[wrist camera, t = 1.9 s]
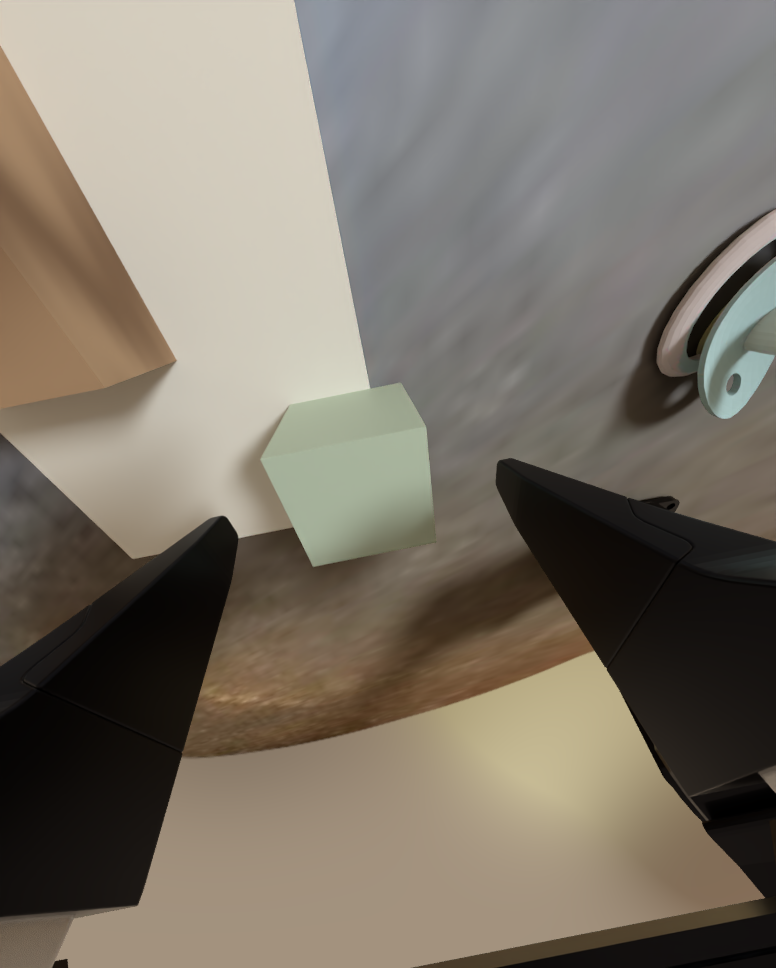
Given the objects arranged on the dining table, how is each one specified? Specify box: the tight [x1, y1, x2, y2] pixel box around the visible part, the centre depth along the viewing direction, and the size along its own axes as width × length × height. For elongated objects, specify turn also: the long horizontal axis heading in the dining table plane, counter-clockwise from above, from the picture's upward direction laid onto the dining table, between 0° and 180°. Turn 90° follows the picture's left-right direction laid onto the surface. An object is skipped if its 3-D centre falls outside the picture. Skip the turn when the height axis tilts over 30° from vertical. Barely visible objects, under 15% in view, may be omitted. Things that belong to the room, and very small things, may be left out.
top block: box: [260, 383, 436, 567], centre depth 11 cm, size 4×4×4 cm
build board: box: [0, 0, 370, 559], centre depth 10 cm, size 18×14×1 cm
